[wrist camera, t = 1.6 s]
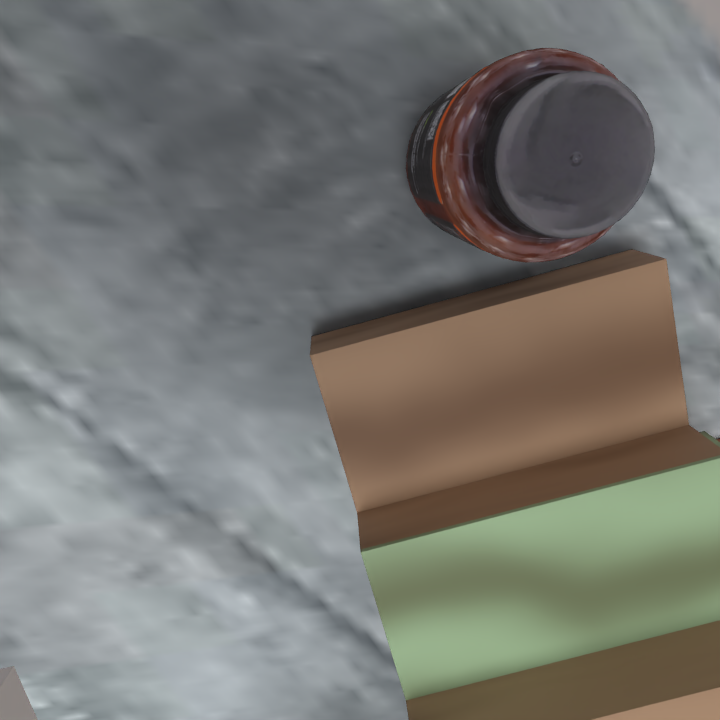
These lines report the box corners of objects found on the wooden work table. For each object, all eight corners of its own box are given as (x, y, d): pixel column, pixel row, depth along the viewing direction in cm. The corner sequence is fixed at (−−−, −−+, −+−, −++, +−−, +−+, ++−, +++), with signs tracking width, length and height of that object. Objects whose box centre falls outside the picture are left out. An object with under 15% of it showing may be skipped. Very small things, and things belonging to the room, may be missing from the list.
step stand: (311, 336, 29) (305, 410, 20) (715, 226, 28) (885, 253, 20) (425, 718, 35) (458, 901, 26) (761, 633, 34) (908, 790, 26)
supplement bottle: (553, 227, 28) (695, 268, 17) (410, 245, 28) (464, 297, 17) (547, 73, 27) (700, 11, 16) (396, 92, 26) (444, 42, 16)
